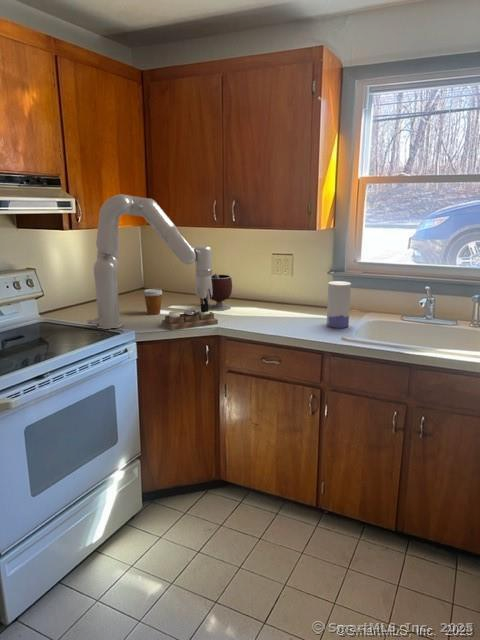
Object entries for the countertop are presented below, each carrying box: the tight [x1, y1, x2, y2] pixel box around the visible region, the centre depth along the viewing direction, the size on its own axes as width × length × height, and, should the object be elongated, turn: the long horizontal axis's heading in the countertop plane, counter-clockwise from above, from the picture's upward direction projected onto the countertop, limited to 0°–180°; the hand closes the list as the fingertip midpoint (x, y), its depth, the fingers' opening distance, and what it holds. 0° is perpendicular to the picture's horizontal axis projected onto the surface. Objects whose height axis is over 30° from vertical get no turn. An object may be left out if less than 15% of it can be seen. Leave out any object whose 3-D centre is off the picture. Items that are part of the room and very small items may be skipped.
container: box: [326, 280, 352, 329], centre depth 217 cm, size 10×10×20 cm
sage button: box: [198, 310, 211, 315], centre depth 224 cm, size 5×5×2 cm
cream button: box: [168, 310, 181, 319], centre depth 217 cm, size 5×5×2 cm
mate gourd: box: [208, 273, 233, 312], centre depth 250 cm, size 16×14×20 cm
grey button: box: [183, 309, 196, 317], centre depth 220 cm, size 5×5×2 cm
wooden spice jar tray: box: [161, 311, 219, 331], centre depth 221 cm, size 23×12×4 cm, turn 119°
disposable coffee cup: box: [142, 288, 163, 316], centre depth 240 cm, size 10×10×12 cm
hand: (204, 311), depth 224 cm, fingers closed
